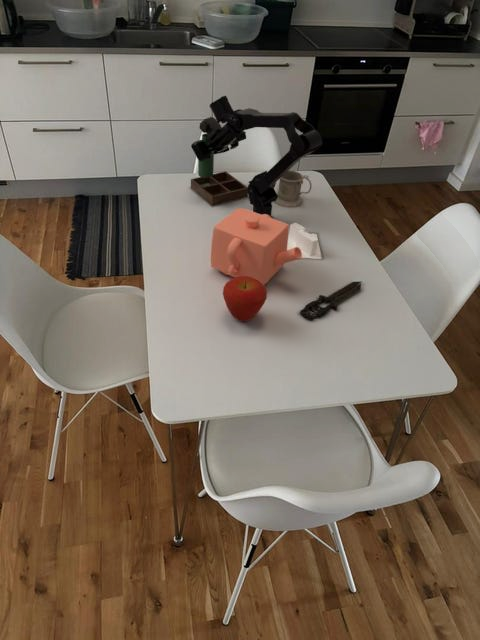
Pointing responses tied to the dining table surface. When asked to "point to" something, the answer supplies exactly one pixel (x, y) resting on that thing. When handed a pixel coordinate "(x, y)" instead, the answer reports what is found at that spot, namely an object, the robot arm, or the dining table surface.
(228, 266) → the teapot
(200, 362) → the dining table surface
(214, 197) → the tray
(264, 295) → the apple
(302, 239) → the napkin holder
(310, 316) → the knife
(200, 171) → the bottle
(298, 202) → the mug
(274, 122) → the robot arm
